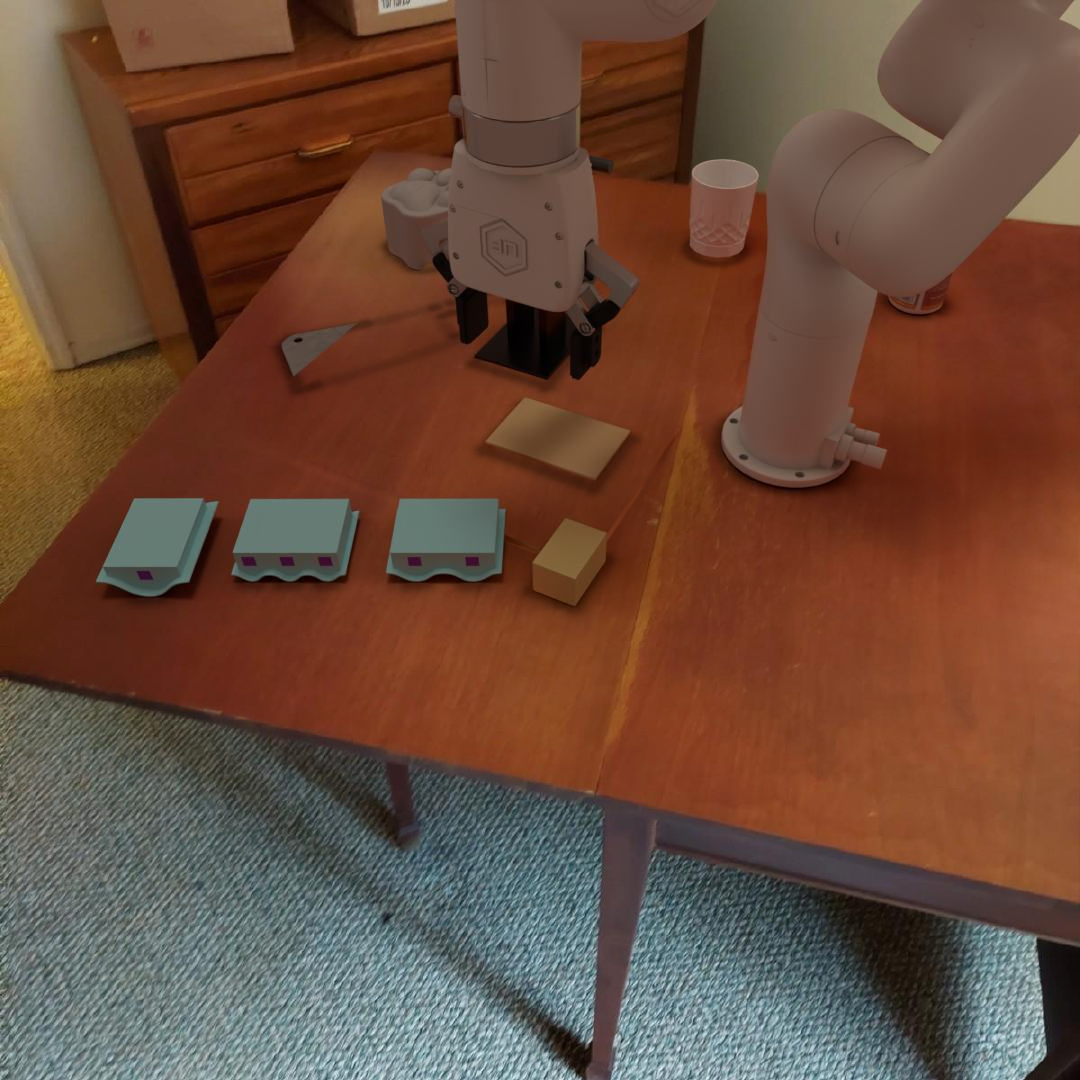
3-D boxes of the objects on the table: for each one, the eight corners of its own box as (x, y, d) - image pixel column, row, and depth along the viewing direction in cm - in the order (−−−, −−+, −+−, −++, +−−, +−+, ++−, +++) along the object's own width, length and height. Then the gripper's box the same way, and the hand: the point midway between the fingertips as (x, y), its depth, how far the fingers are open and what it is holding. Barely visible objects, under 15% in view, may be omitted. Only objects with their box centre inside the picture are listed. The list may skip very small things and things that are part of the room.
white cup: (685, 233, 124) (692, 157, 117) (747, 236, 123) (758, 160, 116) (683, 264, 119) (690, 186, 111) (747, 267, 118) (759, 189, 111)
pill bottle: (939, 290, 113) (967, 201, 105) (944, 318, 109) (974, 227, 101) (885, 286, 114) (908, 197, 106) (888, 313, 110) (913, 223, 102)
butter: (565, 545, 85) (565, 517, 82) (605, 560, 84) (607, 532, 81) (533, 590, 81) (532, 562, 79) (574, 607, 80) (575, 579, 77)
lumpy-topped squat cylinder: (379, 243, 124) (369, 178, 118) (462, 213, 129) (457, 150, 123) (421, 276, 118) (413, 209, 112) (507, 243, 123) (504, 178, 117)
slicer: (527, 310, 112) (524, 216, 103) (597, 330, 109) (599, 234, 100) (474, 364, 105) (467, 267, 96) (547, 386, 101) (545, 288, 93)
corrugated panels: (139, 516, 89) (103, 596, 82) (129, 492, 87) (91, 573, 80) (506, 515, 88) (501, 597, 81) (504, 492, 86) (499, 573, 79)
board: (630, 439, 95) (630, 430, 94) (594, 488, 90) (595, 478, 89) (524, 406, 99) (524, 396, 98) (485, 450, 94) (484, 441, 94)
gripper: (378, 124, 62) (407, 346, 74) (617, 179, 56) (606, 411, 68) (441, 85, 67) (460, 300, 79) (669, 132, 61) (650, 358, 73)
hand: (528, 352), depth 74 cm, fingers open, 9 cm apart
